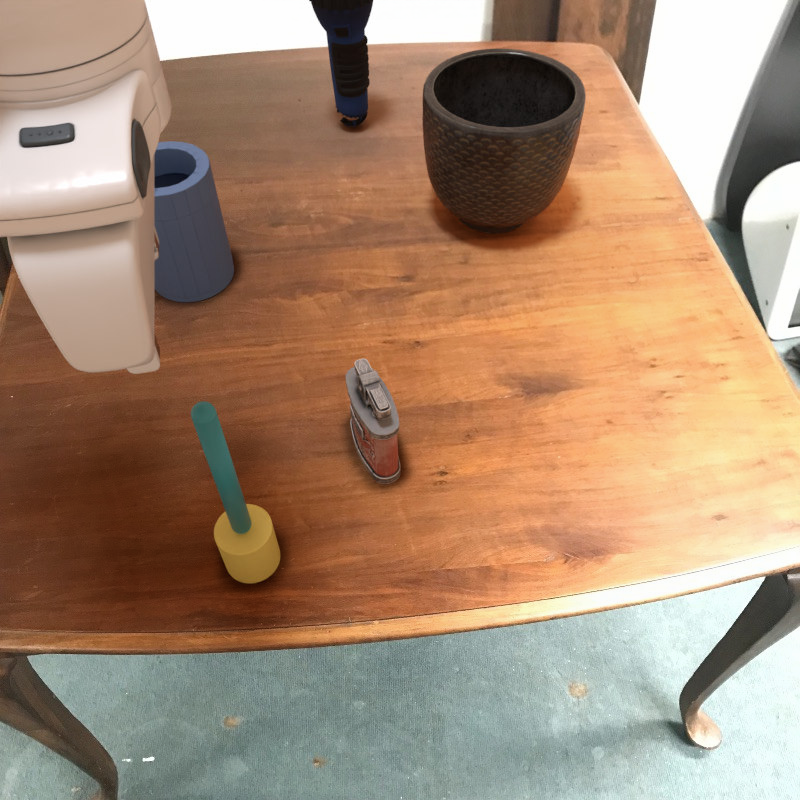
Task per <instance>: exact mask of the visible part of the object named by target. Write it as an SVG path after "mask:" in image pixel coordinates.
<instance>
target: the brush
mask: <svg viewBox="0 0 800 800" xmlns="http://www.w3.org/2000/svg"><path fill="white" fill-rule="evenodd" d="M190 418H191V421H192V423H193V426H194V429H195V432H196V435H197V437H198V440H199V442H200V446H201V448H202V451H203V454H204V456H205V459H206V462H207V464H208V467H209V470H210V473H211V475H212V478H213V481H214V483H215V486H216V490H217V492H218V495H219V498H220V500H221V504H222V505H223V508H224V512H222V513H221V515H220V516H219V517H218V518H217V520H216V522H215V523H214V528H213V538H214V541H215V544H216V546H217V548H218V551H219V553H220V556H221V558H222V561H223V563H224V566H225V568H226V570H227V573H228V574H229V575H230V576H231V578H232V579H234V580H236V581H237V582H240V583H242V584H257V583H260V582H263V581H265V580H266V579H268V578H270V577H271V576H272V575H273V574H274V573H275V572H276V570H277V569H278V568H279V565H280V563H281V562H280V561H281V550H280V546H279V542H278V539H277V535H276V531H275V529H274V524H273V521H272V518H271V516H270V514H269V513H268V511H266V509H264V508H263V507H261V506H259V505H256V504H252V503H246V500H245V496H244V493H243V490H242V487H241V484H240V481H239V477H238V475H237V471H236V468H235V465H234V463H233V460H232V456H231V453H230V450H229V447H228V443H227V440H226V438H225V434H224V431H223V428H222V425H221V422H220V419H219V416H218V413H217V409H216V408H215V406H214V404H212V403H211V402H209V401H206V400H203V401H202V400H201V401H198V402H196V403H195V404H194V405H193V406H192V408H191V410H190Z"/></svg>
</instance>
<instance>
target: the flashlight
mask: <svg viewBox="0 0 800 800" xmlns="http://www.w3.org/2000/svg"><path fill="white" fill-rule="evenodd" d="M308 1H309V2H310V3H311V6H312V9H313V12H314V14H315V16H316V18H317V20H318V23H319V24H320V26H321V28H323V29H324V31H325V32H326V40H327V41H326V42H327V49H328V58H329V66H330V75H331V81H332V89H333V94H334V102H335V109H336V113H339V114H341V115H342V116H343V117H341V119H340V120H339V122H341V123H342V125H344V126H347V127H349V128H350V127H351V128H353V127H358V126H360V125H362V124H363V123H364V122H365V121H366V119H367V117H368V113H369V112H368V110H369V94H368V93H369V92H368V90H369V89H368V88H369V87H370V85H371V83H370V78H369V77H370V63H369V57H370V56H369V54H368V53H369V47H368V40H369V39H368V37H367V35H366V31H365V30H366V27H367V26H368V23H369V19H370V17H371V13H372V9H373V5H374V0H308ZM349 118H350V119H349ZM352 119H353V120H352Z"/></svg>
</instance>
